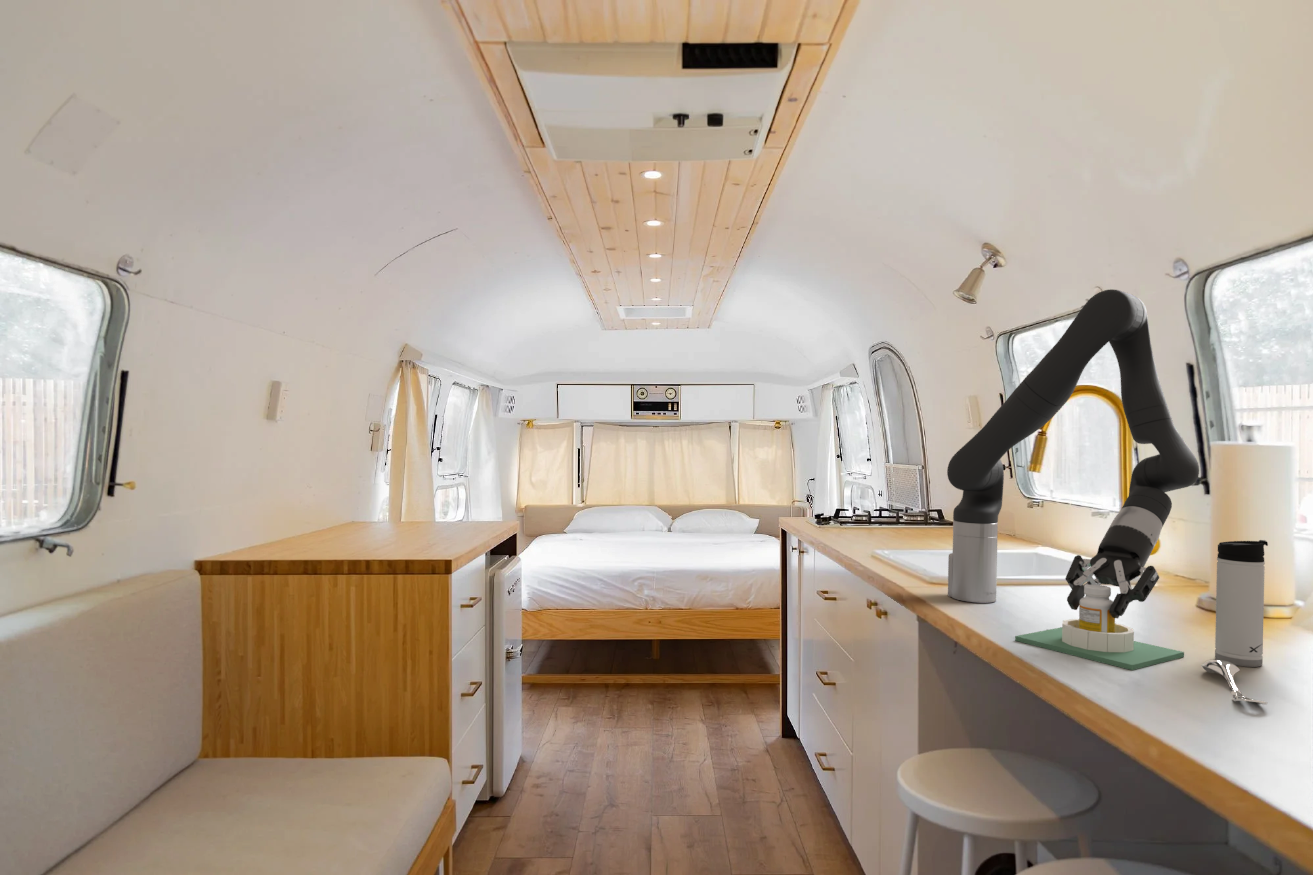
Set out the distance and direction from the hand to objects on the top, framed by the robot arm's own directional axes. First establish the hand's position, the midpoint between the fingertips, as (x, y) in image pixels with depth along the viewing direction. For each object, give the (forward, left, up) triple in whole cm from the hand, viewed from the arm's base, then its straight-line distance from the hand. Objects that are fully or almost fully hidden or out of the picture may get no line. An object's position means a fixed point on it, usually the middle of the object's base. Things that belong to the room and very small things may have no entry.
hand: (1092, 610), depth 135 cm
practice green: (0, +2, -7) cm, 7 cm away
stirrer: (+23, -4, -7) cm, 24 cm away
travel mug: (+16, +15, -7) cm, 23 cm away
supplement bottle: (0, +2, -6) cm, 6 cm away
